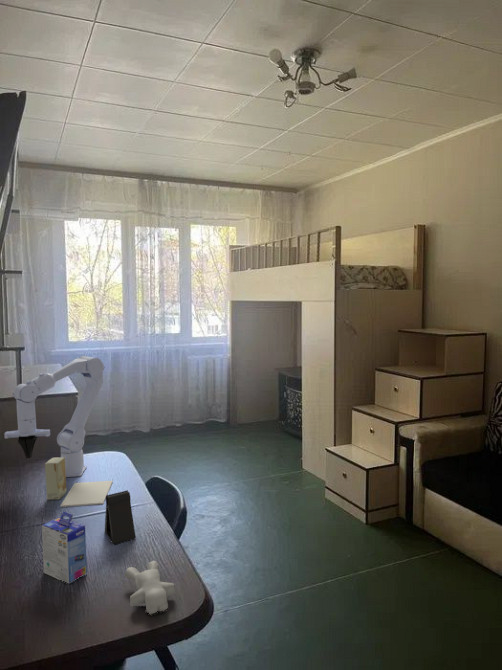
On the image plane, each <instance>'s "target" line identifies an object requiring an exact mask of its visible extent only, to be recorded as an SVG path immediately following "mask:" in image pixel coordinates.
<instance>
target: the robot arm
mask: <svg viewBox="0 0 502 670" xmlns="http://www.w3.org/2000/svg"><path fill="white" fill-rule="evenodd" d="M104 370H105V365H104V363H103V361H102V359H100V358H98V357H91V356H86V355H81V356H79V357H78V358H75V359H73V360H72V361H70V362H69V363H67V364H66V365H64V366H62V367H60V368H58V369H56V370H55V371H53V372H51V373H49V372H40V373H39V374H38V376H37V377H34V378H33V379H31V380H30V379H28V380H26V383H19V384H18V385H16V386H15V388H14V391H13V392H12V396H13V398H14V399H15V400H16V417H17V418H16V419H17V429H16V430H10V431H8V430H7V431H5V432H4V439H11V438H12V439H13V438H18V439H17V443H18V444H19V445H20V447H21V449H22V450H23V453H24V456H25V459H31V458H32V457H33V451H34V447H35V443H36V441H37V439H38V437H46V438H47V437H50V436H51V429H40V428H37V419H36V417H37V416H36V404H35V403H36V402H35V400H37V397H38V396H40V395H41V394H43V393H46V392H47V391H49V390H50V389H52V388H54V387H55V386H56V385H55V384H56V382H59V381H61V380H62V379H64V378H67V377H68V376H71V375H73V374H75V373H80V374H81V376H83V378H84V380H85V382H86V385H85V386H84V389H83V390H82V393H81V395H80V398H79V400H78V402H77V405H76V407H75V409H74V411H73V414H72V416H71V419H70V421H69V422H68V423H67V424H65V425H64V426H63V428H62V430H61V431H60V432H59V433H58V434H57V436H56V443H57V445H58V446H59V447H60V457H65V472H66V478H70V477H71V478H72V477H73V478H74V477H75V478H76V477H82V475H83V473H84V472H85V470H86V469H87V466H86V465H85V464H84V451H83V447H84V444H85V437H86V434H87V433H86V430H85V426H86V423H87V421H88V418H89V416H90V415H91V412H92V409H93V407H94V405H95V403H96V400H97V397H98V396H99V392H100V390H101V389H102V385H103V383H104V382H103V381H104V379H103V377H104V374H103V373H104Z"/></svg>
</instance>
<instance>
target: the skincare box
mask: <svg viewBox="0 0 502 670" xmlns="http://www.w3.org/2000/svg"><path fill="white" fill-rule="evenodd" d="M44 468H45V469H44V472H45V473H44V474H45V483H46V484H45V485H46V486H45V489H46V490H45V491H46V500H60V499H62V498H63V496H65V495H66V494H67V493H68V492H67V491H68V488H67V477H66V472H65V457H61V456H60V457H51V458H50V459H48V460H47V462H45V463H44Z"/></svg>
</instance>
